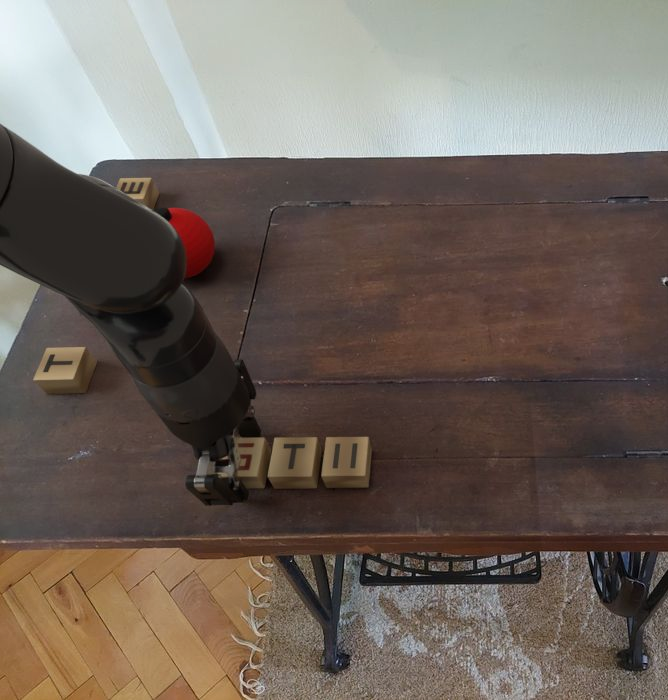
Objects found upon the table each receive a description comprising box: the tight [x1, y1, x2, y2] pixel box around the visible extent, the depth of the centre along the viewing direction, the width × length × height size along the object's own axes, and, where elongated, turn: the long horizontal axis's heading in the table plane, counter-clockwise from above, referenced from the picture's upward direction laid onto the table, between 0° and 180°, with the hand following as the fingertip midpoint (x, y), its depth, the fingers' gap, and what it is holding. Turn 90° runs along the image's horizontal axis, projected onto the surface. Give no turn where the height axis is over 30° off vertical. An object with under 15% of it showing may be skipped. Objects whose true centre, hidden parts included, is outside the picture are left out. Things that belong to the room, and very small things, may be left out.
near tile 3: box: [321, 436, 373, 489], centre depth 69 cm, size 4×4×3 cm
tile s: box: [218, 437, 273, 489], centre depth 68 cm, size 4×4×3 cm
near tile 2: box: [267, 436, 323, 490], centre depth 68 cm, size 4×4×3 cm
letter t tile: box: [32, 346, 98, 395], centre depth 75 cm, size 4×4×3 cm
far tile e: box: [115, 177, 160, 211], centre depth 93 cm, size 4×4×3 cm
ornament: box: [154, 207, 216, 279], centre depth 83 cm, size 9×9×10 cm
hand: (245, 465), depth 69 cm, fingers open, 6 cm apart
